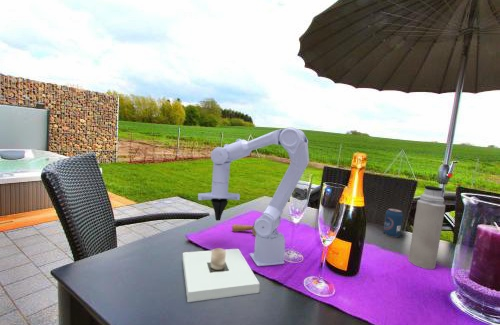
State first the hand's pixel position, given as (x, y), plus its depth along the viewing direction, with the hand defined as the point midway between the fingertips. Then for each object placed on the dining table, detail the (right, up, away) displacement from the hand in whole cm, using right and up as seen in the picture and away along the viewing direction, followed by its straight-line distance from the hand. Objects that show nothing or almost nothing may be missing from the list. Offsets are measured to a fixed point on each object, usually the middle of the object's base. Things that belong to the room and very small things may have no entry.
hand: (217, 219), depth 87 cm
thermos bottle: (+73, -16, +1) cm, 75 cm away
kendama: (+13, -10, +16) cm, 23 cm away
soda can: (+78, -14, +28) cm, 84 cm away
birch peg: (+2, -12, -17) cm, 21 cm away
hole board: (+2, -12, -17) cm, 21 cm away
